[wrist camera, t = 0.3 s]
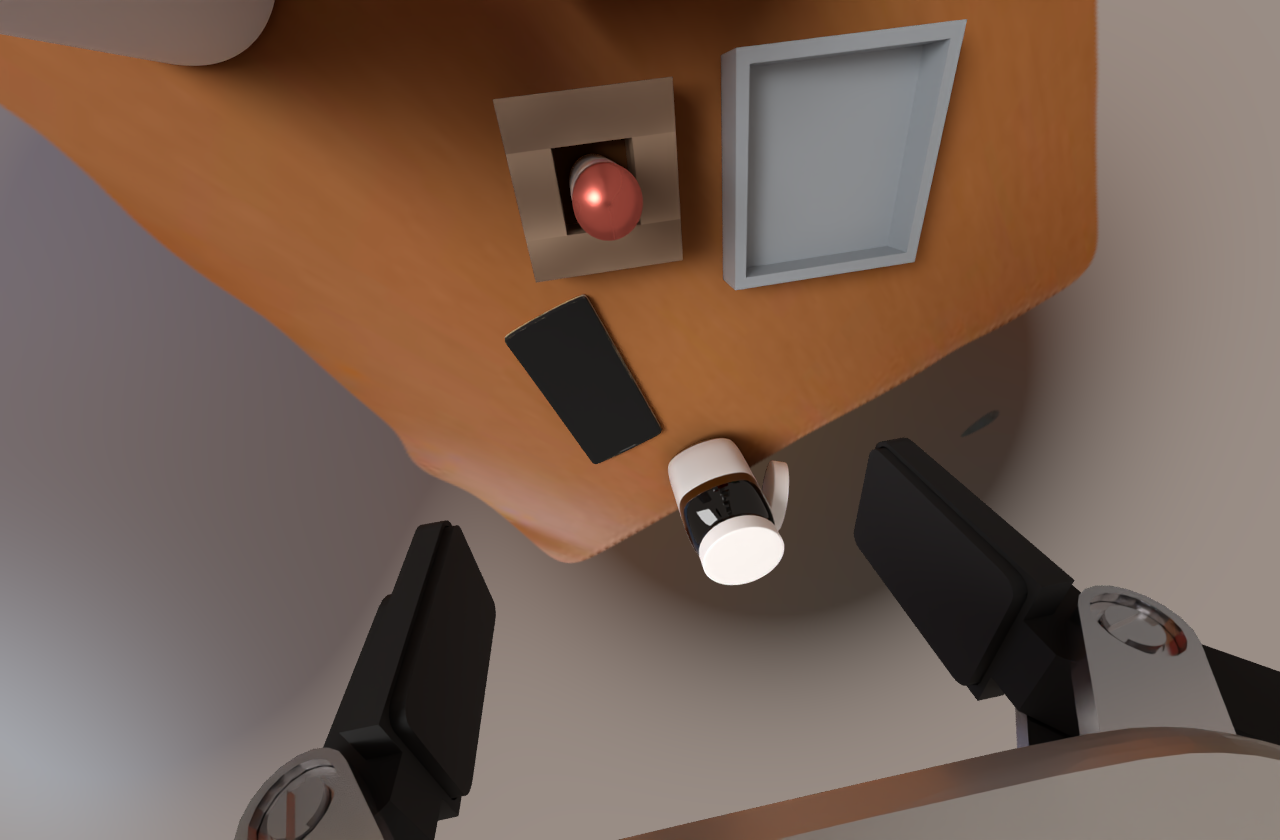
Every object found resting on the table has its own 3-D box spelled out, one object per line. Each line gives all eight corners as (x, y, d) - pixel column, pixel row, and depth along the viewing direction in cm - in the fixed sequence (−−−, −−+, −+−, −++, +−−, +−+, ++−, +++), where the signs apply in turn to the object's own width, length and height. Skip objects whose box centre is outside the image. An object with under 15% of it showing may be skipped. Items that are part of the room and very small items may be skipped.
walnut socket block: (500, 103, 28) (492, 99, 25) (659, 83, 29) (672, 76, 25) (538, 267, 33) (536, 282, 30) (670, 247, 34) (683, 260, 31)
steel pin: (564, 157, 30) (566, 168, 21) (615, 150, 30) (638, 158, 21) (574, 212, 32) (579, 245, 23) (622, 206, 32) (646, 235, 23)
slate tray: (720, 55, 28) (736, 47, 26) (932, 28, 29) (967, 19, 27) (723, 279, 36) (735, 290, 33) (890, 253, 37) (914, 261, 34)
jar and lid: (653, 447, 44) (679, 536, 34) (763, 401, 43) (822, 480, 33) (691, 524, 50) (722, 618, 41) (787, 486, 49) (843, 573, 40)
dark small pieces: (584, 293, 34) (664, 434, 42) (583, 289, 35) (661, 427, 43) (501, 338, 35) (594, 467, 43) (502, 332, 36) (594, 460, 44)
